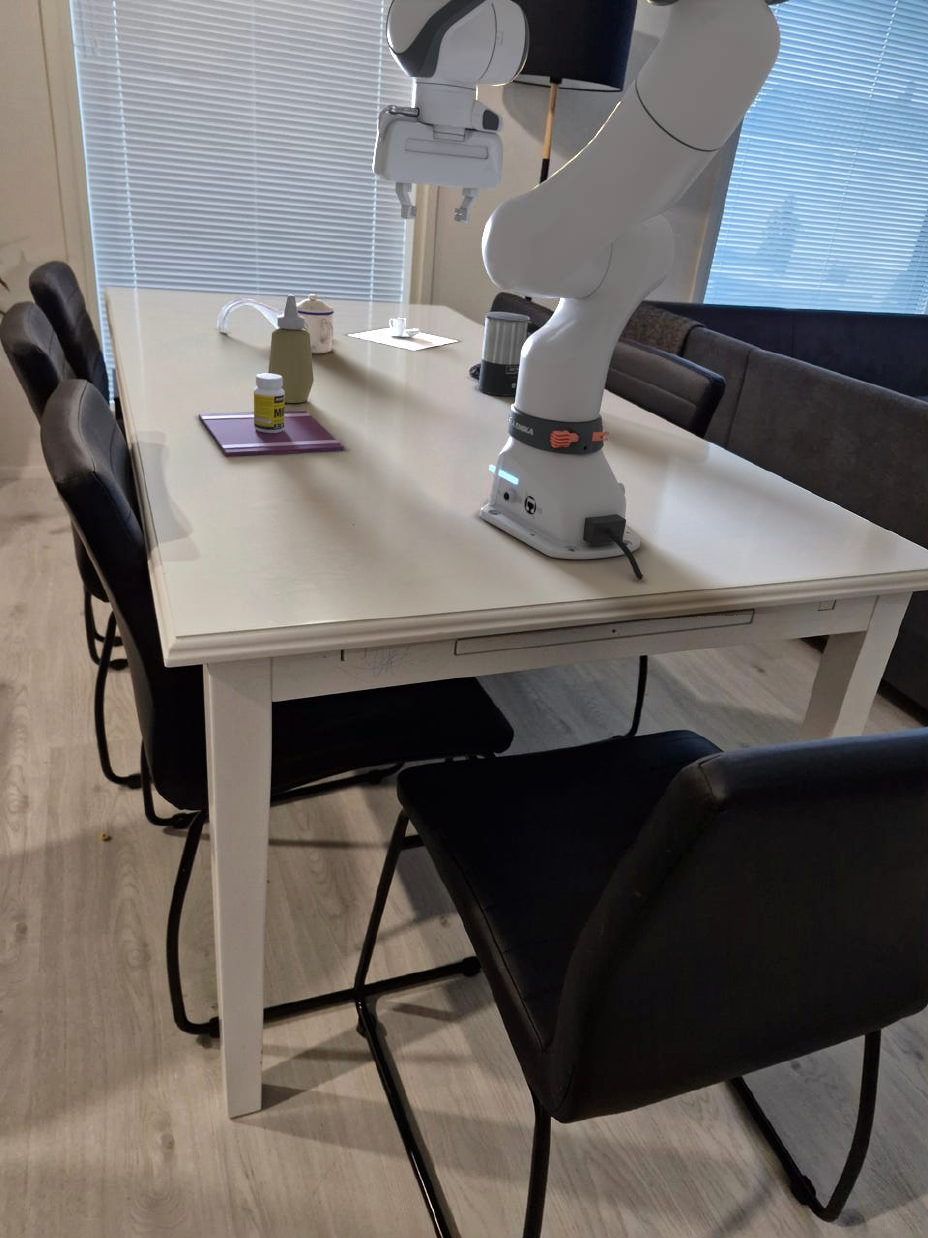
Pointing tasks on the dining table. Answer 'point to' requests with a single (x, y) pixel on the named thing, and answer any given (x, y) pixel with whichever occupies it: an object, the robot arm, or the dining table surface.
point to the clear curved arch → (264, 309)
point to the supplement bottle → (269, 403)
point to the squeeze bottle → (292, 354)
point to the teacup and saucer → (403, 336)
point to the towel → (268, 434)
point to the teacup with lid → (317, 323)
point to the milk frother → (502, 352)
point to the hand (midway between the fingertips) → (435, 220)
